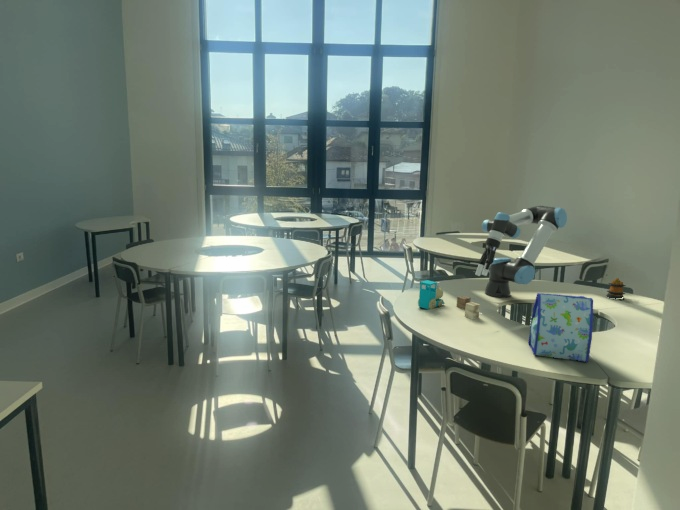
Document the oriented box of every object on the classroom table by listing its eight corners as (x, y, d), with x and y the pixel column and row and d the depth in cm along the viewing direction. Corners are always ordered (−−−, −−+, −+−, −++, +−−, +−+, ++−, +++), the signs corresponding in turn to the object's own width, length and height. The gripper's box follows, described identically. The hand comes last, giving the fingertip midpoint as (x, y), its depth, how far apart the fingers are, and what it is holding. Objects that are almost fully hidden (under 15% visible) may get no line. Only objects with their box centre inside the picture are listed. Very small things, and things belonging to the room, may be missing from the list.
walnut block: (462, 307, 262) (463, 295, 261) (469, 310, 258) (470, 297, 257) (456, 308, 260) (457, 296, 258) (463, 311, 255) (464, 299, 254)
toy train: (445, 305, 266) (447, 279, 263) (429, 311, 254) (431, 284, 251) (433, 302, 271) (435, 277, 268) (417, 308, 259) (419, 281, 256)
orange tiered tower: (624, 301, 287) (627, 282, 285) (605, 298, 292) (608, 280, 290) (623, 296, 299) (626, 278, 296) (605, 293, 303) (608, 276, 301)
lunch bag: (579, 349, 207) (587, 292, 202) (590, 364, 191) (599, 303, 186) (526, 343, 212) (532, 287, 206) (533, 358, 196) (540, 297, 190)
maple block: (471, 314, 246) (472, 302, 244) (478, 317, 242) (480, 304, 240) (464, 316, 243) (465, 303, 242) (472, 319, 239) (473, 305, 238)
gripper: (481, 239, 274) (468, 273, 273) (494, 235, 249) (480, 272, 248) (494, 243, 273) (481, 277, 273) (507, 240, 248) (493, 277, 248)
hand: (480, 275), depth 260 cm, fingers open, 13 cm apart
